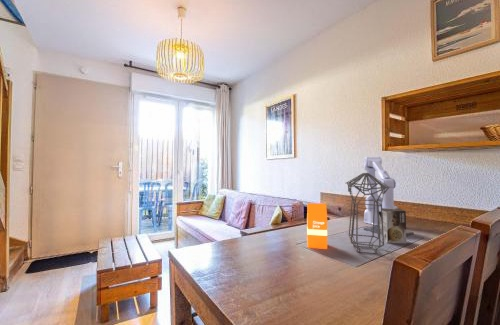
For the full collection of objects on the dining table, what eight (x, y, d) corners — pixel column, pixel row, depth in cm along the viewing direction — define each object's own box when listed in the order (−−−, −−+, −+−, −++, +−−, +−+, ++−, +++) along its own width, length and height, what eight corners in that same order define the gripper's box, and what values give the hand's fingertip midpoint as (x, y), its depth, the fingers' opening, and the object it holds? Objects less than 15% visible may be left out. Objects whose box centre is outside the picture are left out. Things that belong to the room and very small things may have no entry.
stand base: (363, 229, 141) (363, 221, 141) (383, 226, 149) (383, 218, 149) (393, 237, 125) (393, 228, 125) (413, 233, 133) (413, 225, 133)
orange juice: (327, 249, 108) (327, 205, 108) (307, 247, 110) (307, 204, 110) (325, 243, 116) (325, 202, 116) (306, 242, 117) (306, 201, 118)
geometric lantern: (379, 246, 112) (380, 172, 112) (389, 259, 97) (391, 174, 96) (343, 242, 116) (345, 171, 116) (348, 255, 101) (349, 173, 101)
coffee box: (399, 239, 122) (399, 208, 122) (406, 244, 115) (406, 210, 115) (381, 239, 123) (381, 208, 123) (387, 243, 116) (386, 210, 116)
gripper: (386, 201, 131) (386, 225, 130) (402, 199, 137) (402, 223, 137) (374, 199, 137) (374, 223, 137) (390, 198, 143) (390, 220, 143)
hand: (388, 223), depth 137 cm, fingers open, 6 cm apart
